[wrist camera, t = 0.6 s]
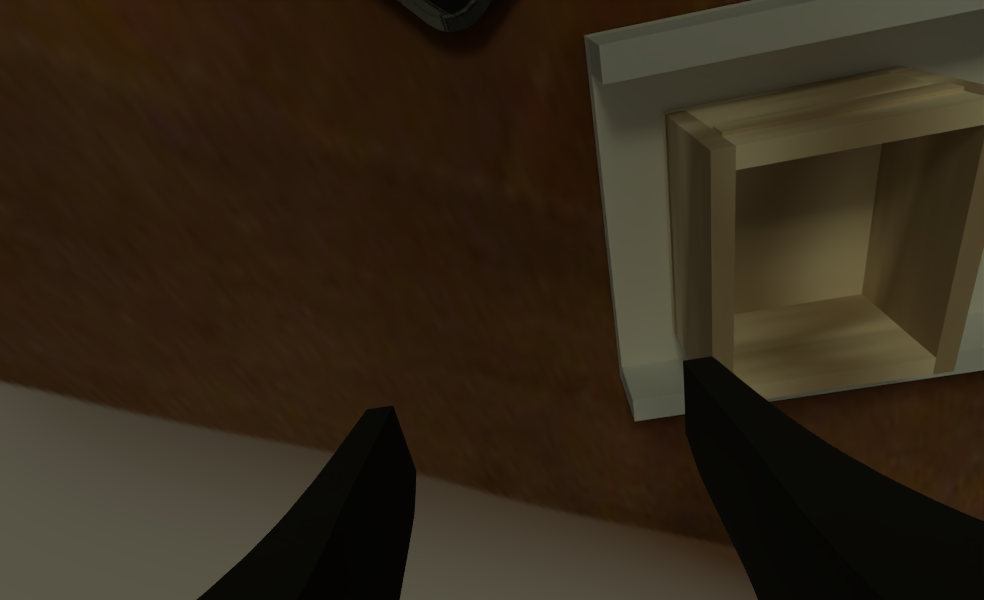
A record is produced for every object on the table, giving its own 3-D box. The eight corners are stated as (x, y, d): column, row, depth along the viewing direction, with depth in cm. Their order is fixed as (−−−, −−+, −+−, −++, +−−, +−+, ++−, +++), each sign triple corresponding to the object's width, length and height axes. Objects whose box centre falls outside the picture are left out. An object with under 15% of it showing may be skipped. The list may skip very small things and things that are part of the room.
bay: (1207, -95, 16) (1645, -137, 10) (1070, 310, 22) (1287, 436, 16) (584, 35, 18) (633, 68, 12) (620, 379, 24) (664, 518, 18)
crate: (901, 62, 17) (1021, 88, 13) (867, 299, 21) (953, 374, 17) (662, 108, 18) (710, 146, 14) (672, 331, 22) (713, 409, 18)
